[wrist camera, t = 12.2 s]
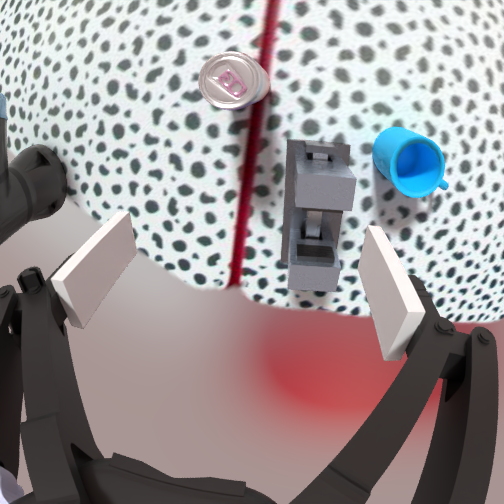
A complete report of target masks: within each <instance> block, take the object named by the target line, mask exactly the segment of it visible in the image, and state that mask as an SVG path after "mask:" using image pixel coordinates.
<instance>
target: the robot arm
mask: <svg viewBox="0 0 504 504" xmlns="http://www.w3.org/2000/svg"><path fill="white" fill-rule="evenodd" d="M7 119H8V118H7V116H6V98H5V96H4V95H3V94H2V93H0V245H1V244H2V243H3V242H5V241H6V240H7V239H8V238H9V237H10V236H12V235H13V234H14V233H15V232H17V231H18V230H19V229H20V228H21V227H23V226H24V225H25V224H27V223H28V222H30V221H34V220H38V219H43V218H46V217H49V216H51V215H53V214H54V213H55V212H57V211H58V210H59V209H60V208H61V207H62V205H63V203H64V201H65V198H66V192H67V183H66V176H65V172H64V169H63V166H62V164H61V162H60V160H59V159H58V157H57V156H56V154H55V153H54V152H53V151H52V150H51V149H50V148H48V147H46V146H44V145H39V144H37V145H33V146H31V147H28V148H26V149H24V150H23V151H22V152H21V153H20V154H19V155H18V156H17V157H16V158H15V159H14V160H13V161H12V162H11V163H10V164H9V165H8V156H7ZM136 254H137V249H136V244H135V239H134V234H133V229H132V223H131V218H130V212H120V211H118V212H117V213H116V214H115V215H114V216H113V217H112V218H111V219H110V220H109V221H108V222H106V223H105V224H104V225H103V226H102V227H101V228H100V229H99V230H98V231H97V232H96V233H95V234H94V235H93V236H92V237H91V238H90V239H89V240H88V241H87V242H86V243H85V244H84V245H83V246H82V247H81V248H80V249H79V250H78V251H76V252H75V253H73V254H72V255H70V256H69V257H68V258H67V259H66V260H65V261H64V262H63V263H62V264H61V265H60V266H59V268H57V269H56V270H55V271H54V272H53V273H52V275H51V276H50V277H49V278H48V279H47V280H46V281H45V280H44V278H43V275H42V273H41V270H40V268H38V267H30V268H28V269H26V270H24V271H23V272H21V273H20V275H19V276H18V278H17V281H18V283H19V285H20V287H21V290H22V292H23V293H16V291H15V289H14V287H13V286H12V285H7V286H3V287H1V288H0V504H277V503H276V502H275V501H273V500H272V499H270V498H269V497H268V496H266V495H264V494H262V493H260V492H258V491H256V490H253V489H251V488H248V487H246V482H243V481H234V480H226V479H219V478H212V477H206V478H173V477H170V476H168V475H166V474H164V473H162V472H160V471H159V470H157V469H155V468H153V467H151V466H149V465H148V464H145V463H144V462H142V461H139V460H135V459H132V458H129V457H126V456H123V455H120V454H117V453H113V456H112V458H104V457H103V455H102V454H101V452H100V451H99V449H98V448H97V446H96V444H95V441H94V438H93V435H92V433H91V430H90V427H89V424H88V420H87V417H86V414H85V410H84V407H83V403H82V400H81V396H80V393H79V389H78V385H77V380H76V376H75V372H74V367H73V362H72V358H71V353H70V347H69V341H68V335H67V329H66V326H65V324H64V320H65V319H66V318H67V317H68V319H69V321H70V323H71V325H72V326H74V327H78V328H82V329H84V328H85V326H86V325H87V323H88V322H89V320H90V318H91V317H92V315H93V314H94V312H95V311H96V310H97V308H98V307H99V305H100V303H101V302H102V300H103V299H104V298H105V296H106V295H107V293H108V292H109V291H110V289H111V288H112V286H113V285H114V284H115V282H116V281H117V279H118V278H119V277H120V275H121V274H122V272H123V271H124V270H125V268H126V267H127V266H128V264H129V263H130V262H131V260H132V259H133V258H134V256H135V255H136ZM358 271H359V274H360V277H361V280H362V284H363V287H364V290H365V293H366V297H367V300H368V303H369V307H370V310H371V313H372V317H373V320H374V324H375V328H376V331H377V335H378V339H379V343H380V347H381V351H382V354H383V359H384V361H392V360H401V358H402V356H403V354H404V352H405V351H406V354H407V357H408V359H407V361H406V362H405V364H404V366H403V367H402V369H401V371H400V372H399V374H398V375H397V377H396V378H395V380H394V382H393V383H392V385H391V386H390V388H389V389H388V391H387V392H386V393H385V395H384V396H383V398H382V399H381V401H380V402H379V404H378V405H377V406H376V408H375V409H374V410H373V412H372V413H371V415H370V416H369V417H368V418H367V420H366V421H365V422H364V424H363V425H362V426H361V427H360V429H359V430H358V431H357V432H356V434H355V435H354V436H353V437H352V439H351V440H350V441H349V442H348V443H347V445H346V446H345V447H344V448H343V449H342V450H341V452H340V453H339V454H338V455H337V456H336V457H335V458H334V459H333V461H332V462H331V463H330V464H329V465H328V466H327V467H326V468H325V469H324V470H323V471H322V472H321V473H320V474H319V476H317V477H316V478H315V479H314V480H313V481H312V482H311V483H310V484H309V485H308V486H307V488H305V489H304V490H303V491H302V492H301V493H300V494H299V495H298V496H297V497H296V498H295V499H294V500H292V502H290V503H289V504H365V503H366V501H367V500H368V498H369V496H370V493H371V490H372V488H373V486H374V485H375V484H376V482H377V481H378V480H379V479H380V477H381V476H382V475H383V473H384V472H385V470H386V469H387V468H388V466H389V465H390V463H391V462H392V460H393V459H394V457H395V456H396V454H397V453H398V451H399V450H400V448H401V447H402V445H403V443H404V442H405V440H406V438H407V437H408V435H409V434H410V432H411V430H412V428H413V427H414V425H415V423H416V422H417V420H418V418H419V416H420V414H421V412H422V411H423V409H424V407H425V405H426V403H427V401H428V399H429V397H430V395H431V393H432V391H433V389H434V387H435V385H436V383H437V380H438V378H442V379H443V384H442V391H441V397H440V403H439V408H438V413H437V419H436V423H435V428H434V431H433V436H432V440H431V444H430V448H429V451H428V455H427V458H426V462H425V465H424V468H423V472H422V474H421V478H420V480H419V484H418V486H417V489H416V492H415V494H414V497H413V500H412V502H411V504H484V503H485V500H486V495H487V491H488V486H489V482H490V477H491V472H492V466H493V459H494V452H495V444H496V434H497V420H498V361H497V347H496V340H495V337H494V336H493V334H492V333H491V332H490V331H489V330H488V329H486V328H484V327H475V328H474V329H473V330H472V332H471V333H470V335H469V334H465V333H461V332H457V331H456V329H455V326H454V325H453V324H452V322H450V321H449V320H448V319H446V318H443V317H440V315H439V313H438V311H437V309H436V307H435V305H434V303H433V301H432V299H431V297H429V294H428V292H427V291H426V288H425V286H424V284H423V282H422V281H421V280H420V279H418V278H417V277H416V276H415V275H407V273H406V271H405V269H404V267H403V265H402V263H401V262H400V260H399V258H398V256H397V254H396V252H395V251H394V249H393V247H392V245H391V243H390V242H389V240H388V238H387V237H386V235H385V233H384V231H383V230H382V228H381V227H380V226H370V225H368V226H367V230H366V235H365V239H364V244H363V248H362V252H361V257H360V261H359V265H358ZM8 327H10V329H11V333H9V328H8ZM23 392H24V400H25V407H26V415H27V421H26V422H22V423H21V411H22V401H23V400H22V399H23ZM20 423H21V425H20ZM20 433H21V439H22V445H23V450H24V455H25V460H26V464H27V469H28V472H29V477H30V480H31V484H32V487H33V492H31V493H29V494H27V495H25V496H24V491H23V489H22V487H21V486H20V485H18V484H17V476H18V468H19V445H20Z"/></svg>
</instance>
